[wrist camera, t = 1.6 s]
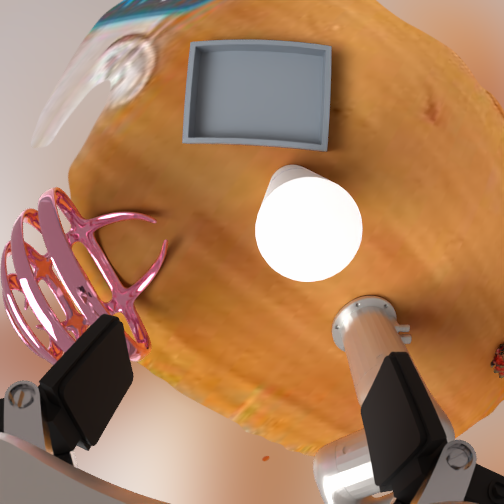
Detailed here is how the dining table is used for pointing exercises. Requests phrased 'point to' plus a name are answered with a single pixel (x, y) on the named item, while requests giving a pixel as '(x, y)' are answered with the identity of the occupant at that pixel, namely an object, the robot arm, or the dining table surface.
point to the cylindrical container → (307, 225)
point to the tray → (258, 94)
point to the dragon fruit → (499, 361)
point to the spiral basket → (69, 278)
